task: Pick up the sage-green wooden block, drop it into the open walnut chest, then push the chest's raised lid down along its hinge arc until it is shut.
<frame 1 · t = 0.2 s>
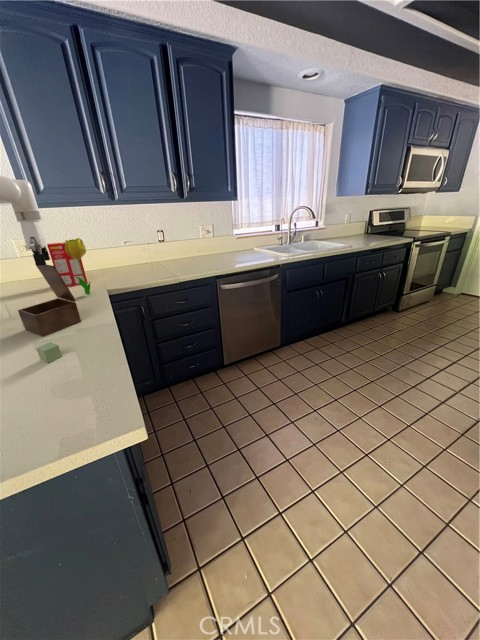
hand: (43, 262, 106), 25 cm above the worktop, tool pointing down, fingers open, 9 cm apart
flower: (88, 295, 145), on the worktop
block: (51, 358, 87), on the worktop
food packaging: (74, 284, 165), on the worktop
lid: (56, 282, 108), point 17 cm above the worktop, hinge at 74.9°, touching gripper
chest: (54, 325, 110), on the worktop
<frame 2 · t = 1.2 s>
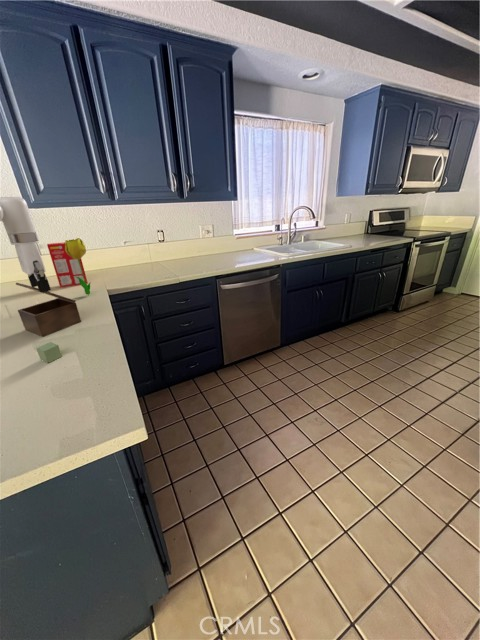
hand: (41, 288, 93), 19 cm above the worktop, tool pointing down, fingers open, 9 cm apart
lid: (46, 292, 105), point 14 cm above the worktop, hinge at 36.5°
everything else where it was.
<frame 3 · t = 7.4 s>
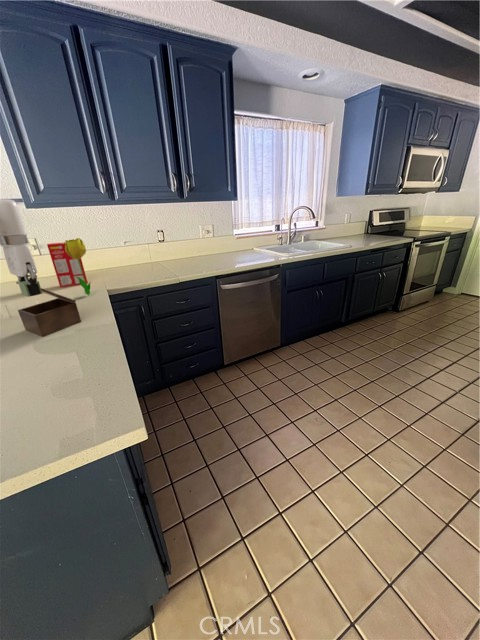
hand: (32, 293, 94), 18 cm above the worktop, tool pointing down, fingers closed on block, 4 cm apart
block: (32, 294, 94), point 17 cm above the worktop, touching gripper, lid
lid: (47, 292, 105), point 14 cm above the worktop, hinge at 38.2°, touching block, gripper
everything else where it was.
when the fingers open (18 cm above the worktop, at t = 7.5 s): block drops 15 cm and tips over, resting on chest.
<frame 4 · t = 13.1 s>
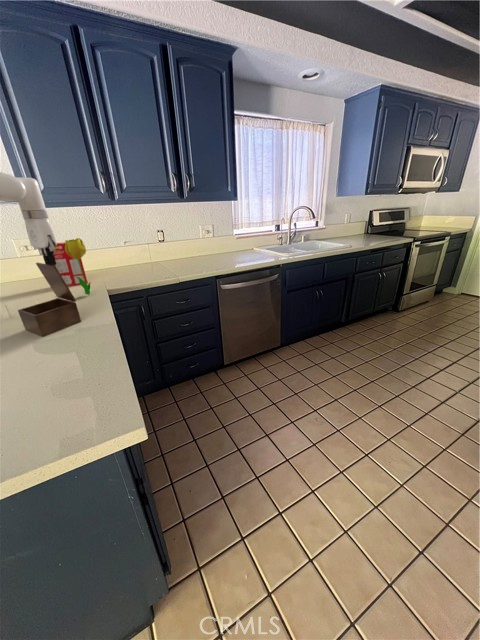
hand: (51, 265, 105), 24 cm above the worktop, tool pointing down, fingers closed
block: (53, 318, 110), point 3 cm above the worktop, tilted 90°, touching chest
lid: (56, 282, 108), point 17 cm above the worktop, hinge at 76.0°, touching gripper
everything else where it was.
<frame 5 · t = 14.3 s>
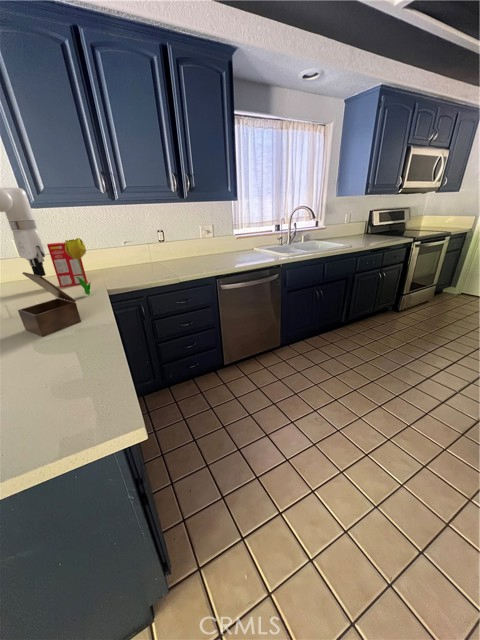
hand: (40, 276, 102), 21 cm above the worktop, tool pointing down, fingers closed
lid: (50, 287, 106), point 16 cm above the worktop, hinge at 53.5°, touching gripper
everything else where it was.
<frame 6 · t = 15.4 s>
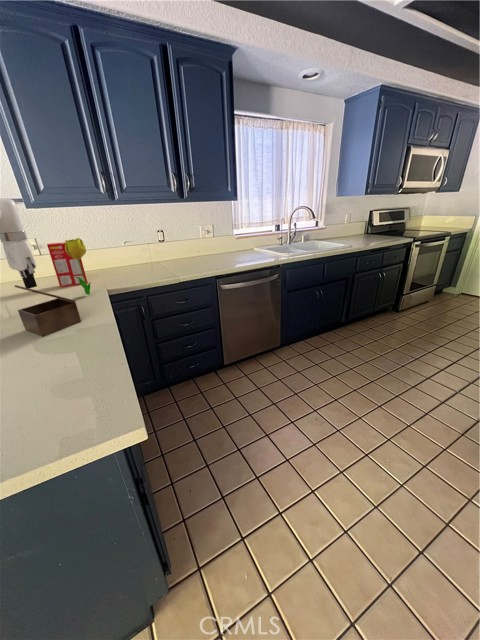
hand: (31, 287, 100), 18 cm above the worktop, tool pointing down, fingers closed
lid: (46, 294, 105), point 14 cm above the worktop, hinge at 32.9°, touching gripper
everything else where it was.
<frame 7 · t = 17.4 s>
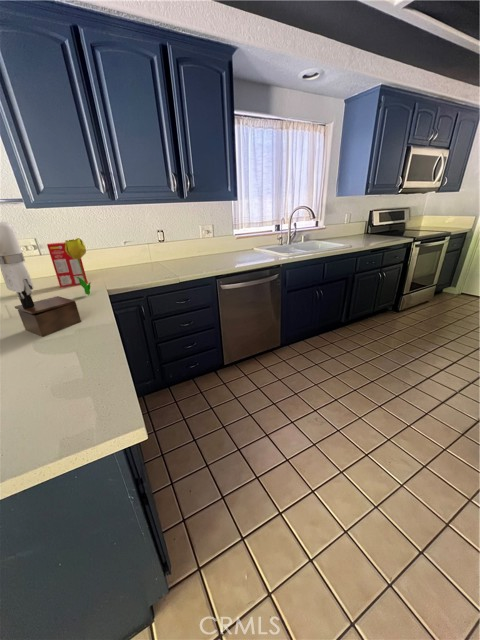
hand: (29, 307, 101), 11 cm above the worktop, tool pointing down, fingers closed
lid: (46, 304, 106), point 10 cm above the worktop, hinge at 3.1°
everything else where it was.
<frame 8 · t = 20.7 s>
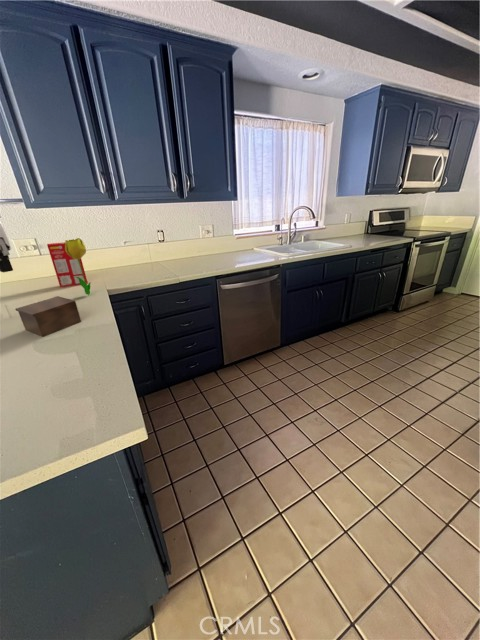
hand: (6, 271, 93), 25 cm above the worktop, tool pointing down, fingers closed
lid: (46, 305, 106), point 9 cm above the worktop, hinge at -0.2°, touching chest
everything else where it was.
at the end: block inside the target area in the chest (0.9 cm from its centre), point 3.0 cm above the chest's base; lid at +0° (first picture: +75°) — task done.
